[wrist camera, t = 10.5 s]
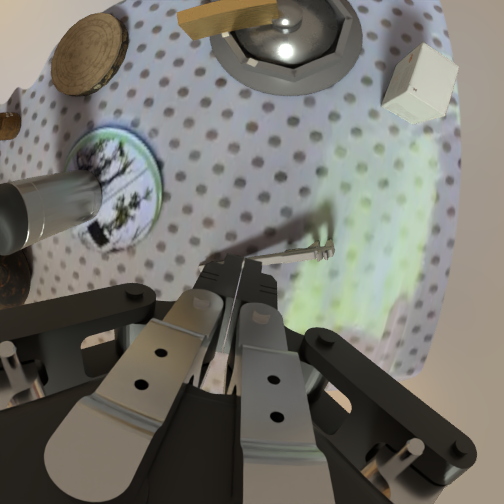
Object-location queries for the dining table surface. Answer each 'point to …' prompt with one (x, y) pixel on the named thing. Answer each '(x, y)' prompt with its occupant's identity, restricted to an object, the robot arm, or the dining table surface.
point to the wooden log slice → (89, 55)
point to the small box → (421, 85)
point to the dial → (268, 27)
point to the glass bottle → (14, 280)
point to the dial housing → (299, 78)
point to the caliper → (295, 255)
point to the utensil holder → (9, 125)
